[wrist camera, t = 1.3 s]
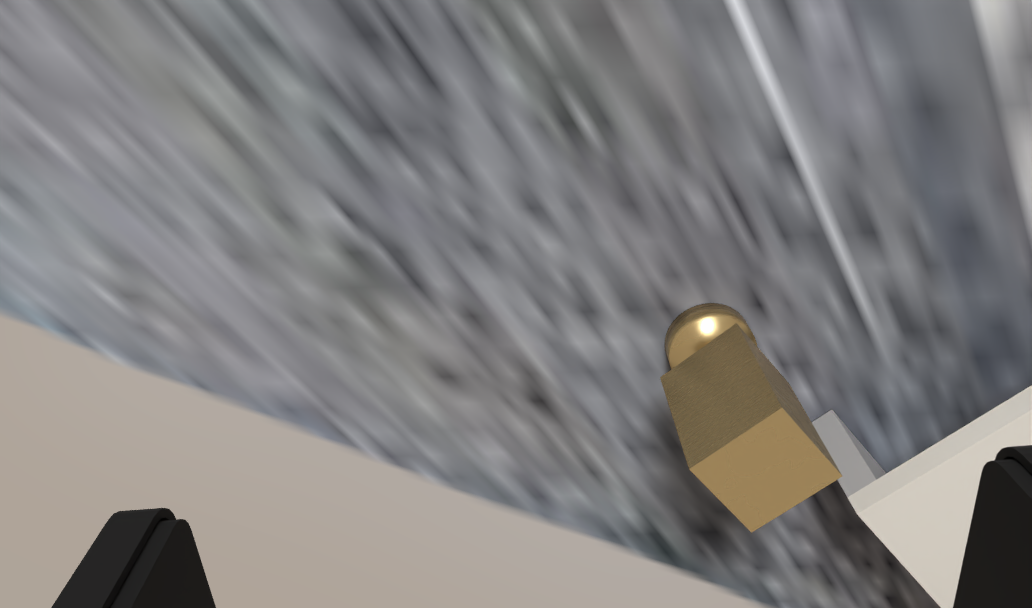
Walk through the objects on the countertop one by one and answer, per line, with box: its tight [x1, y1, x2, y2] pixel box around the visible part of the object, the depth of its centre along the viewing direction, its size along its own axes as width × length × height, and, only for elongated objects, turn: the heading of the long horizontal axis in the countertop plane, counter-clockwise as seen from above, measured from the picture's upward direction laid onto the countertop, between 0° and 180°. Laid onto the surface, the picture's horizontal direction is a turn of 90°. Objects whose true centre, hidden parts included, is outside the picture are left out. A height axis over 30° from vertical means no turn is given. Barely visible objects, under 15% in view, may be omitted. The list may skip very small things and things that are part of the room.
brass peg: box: [660, 303, 842, 533], centre depth 37 cm, size 4×4×11 cm
